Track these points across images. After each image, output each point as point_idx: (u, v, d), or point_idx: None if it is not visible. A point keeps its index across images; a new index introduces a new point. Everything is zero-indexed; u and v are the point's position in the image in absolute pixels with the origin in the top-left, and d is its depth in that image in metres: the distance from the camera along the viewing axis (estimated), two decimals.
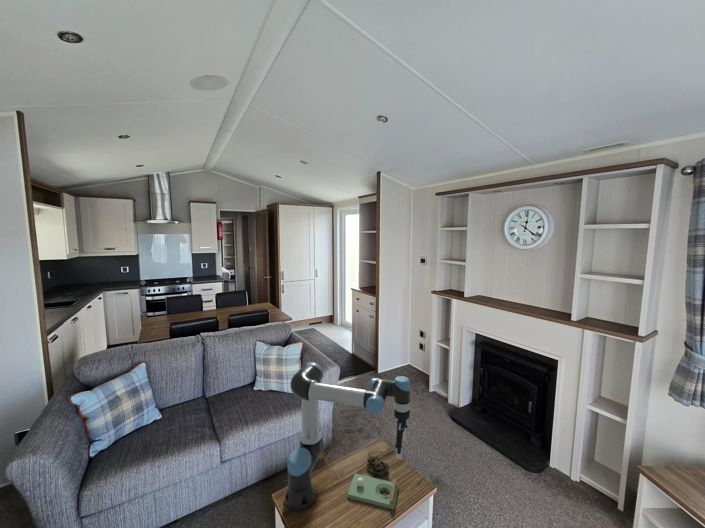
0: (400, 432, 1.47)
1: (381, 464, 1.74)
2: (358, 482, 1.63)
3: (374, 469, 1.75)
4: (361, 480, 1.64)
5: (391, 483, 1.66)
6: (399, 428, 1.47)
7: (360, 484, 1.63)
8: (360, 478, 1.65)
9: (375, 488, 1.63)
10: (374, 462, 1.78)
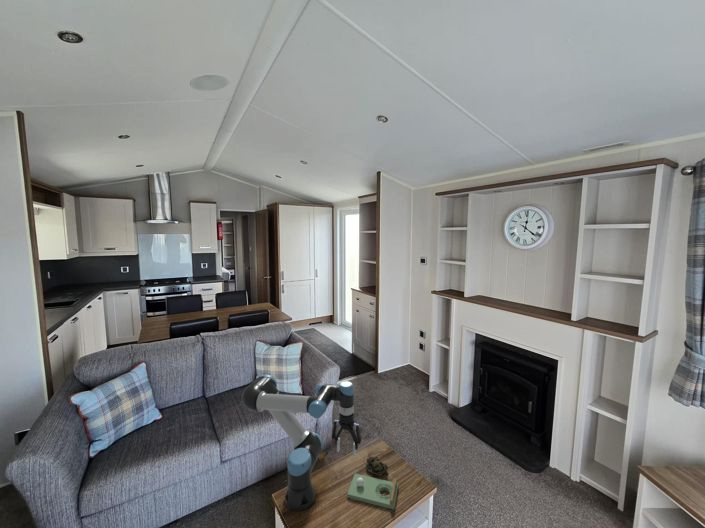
0: None
1: (380, 465, 1.74)
2: (358, 482, 1.63)
3: (373, 469, 1.75)
4: (361, 480, 1.64)
5: (391, 483, 1.66)
6: None
7: (360, 484, 1.63)
8: (360, 478, 1.65)
9: (375, 488, 1.63)
10: (373, 462, 1.78)
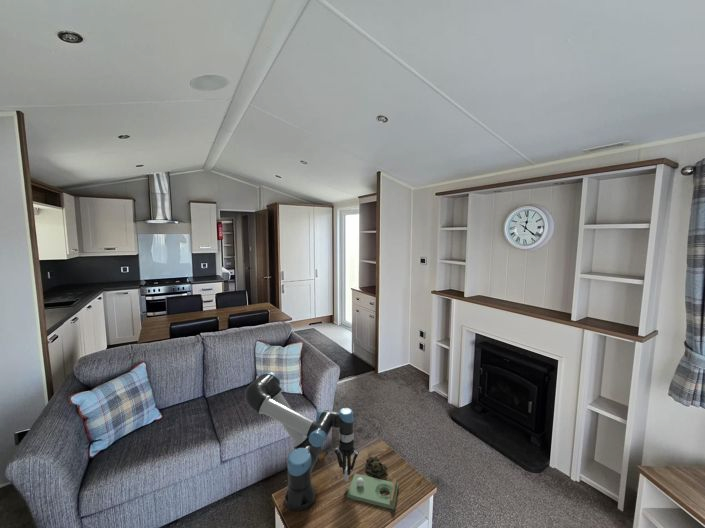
0: None
1: (379, 465, 1.73)
2: (358, 482, 1.63)
3: (372, 470, 1.74)
4: (361, 480, 1.64)
5: (391, 483, 1.66)
6: None
7: (360, 484, 1.63)
8: (360, 478, 1.65)
9: (375, 488, 1.63)
10: (372, 463, 1.77)
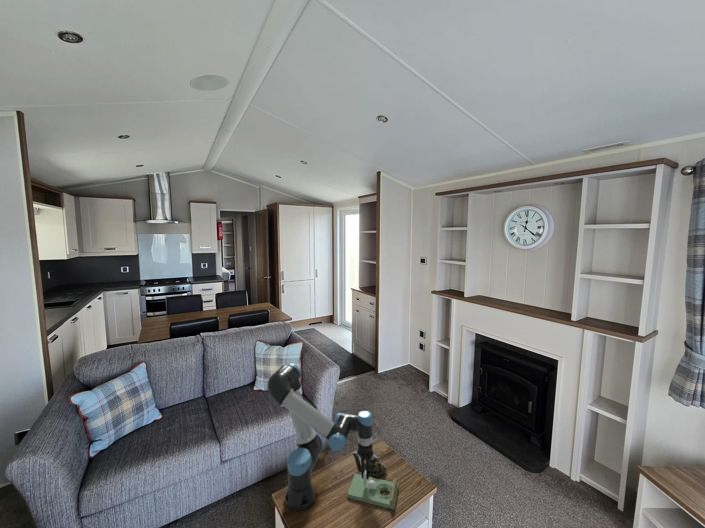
0: None
1: (377, 466, 1.73)
2: None
3: None
4: None
5: (391, 483, 1.66)
6: None
7: (369, 487, 1.61)
8: None
9: (375, 488, 1.63)
10: (371, 463, 1.77)
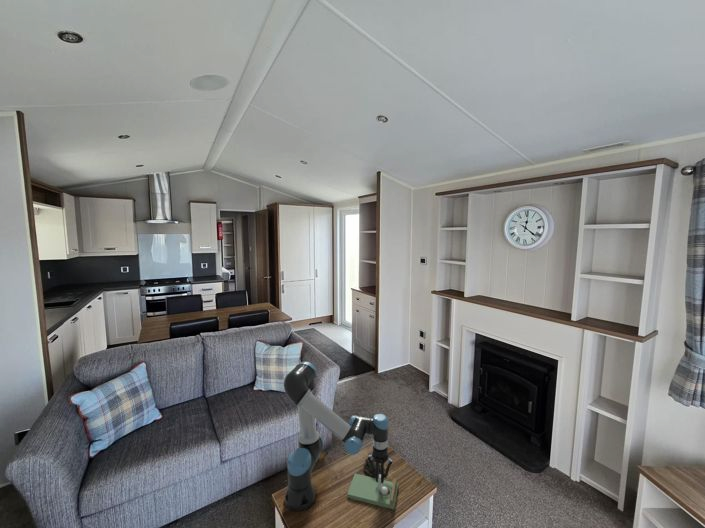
0: None
1: None
2: (383, 491, 1.60)
3: (369, 470, 1.74)
4: (387, 491, 1.60)
5: (391, 483, 1.66)
6: None
7: (384, 494, 1.59)
8: (386, 488, 1.61)
9: (375, 488, 1.63)
10: None
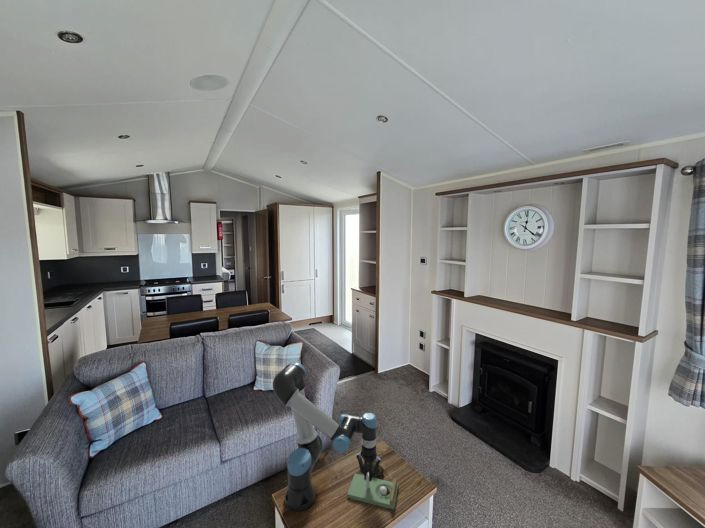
0: None
1: None
2: (382, 491, 1.60)
3: (368, 470, 1.74)
4: (385, 490, 1.60)
5: (391, 483, 1.66)
6: None
7: (383, 493, 1.60)
8: (384, 487, 1.61)
9: (375, 488, 1.63)
10: None
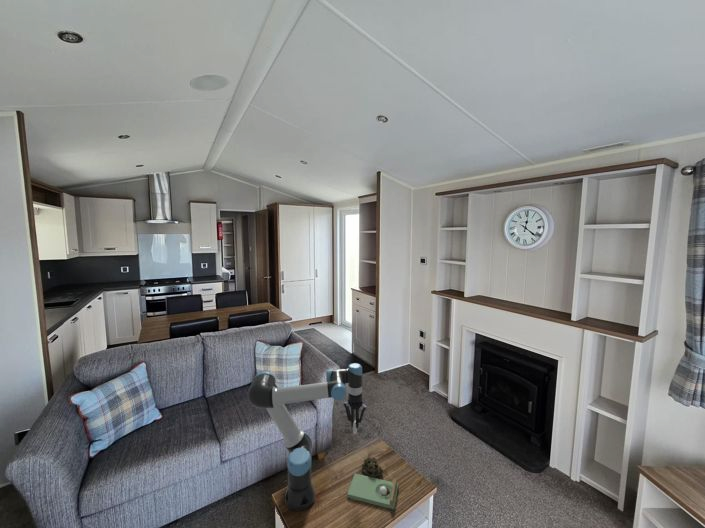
0: None
1: (374, 467, 1.72)
2: (382, 491, 1.60)
3: (367, 470, 1.74)
4: (385, 490, 1.60)
5: (391, 483, 1.66)
6: None
7: (383, 493, 1.60)
8: (384, 487, 1.61)
9: (375, 488, 1.63)
10: (369, 463, 1.77)
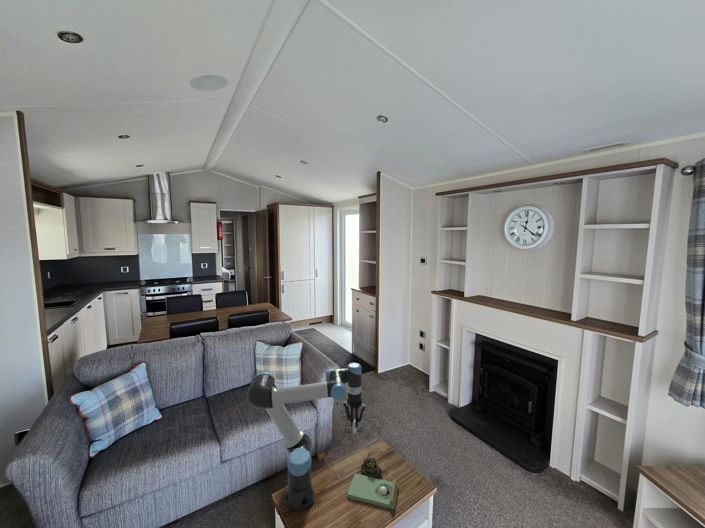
0: None
1: (373, 467, 1.72)
2: (382, 491, 1.60)
3: (366, 470, 1.74)
4: (385, 490, 1.60)
5: (391, 483, 1.66)
6: None
7: (383, 493, 1.60)
8: (384, 487, 1.61)
9: (375, 488, 1.63)
10: (368, 464, 1.77)
